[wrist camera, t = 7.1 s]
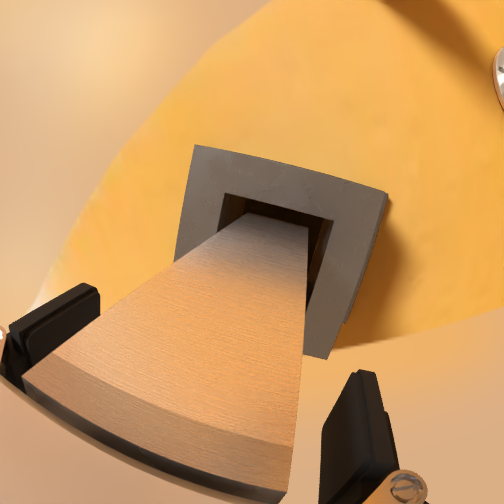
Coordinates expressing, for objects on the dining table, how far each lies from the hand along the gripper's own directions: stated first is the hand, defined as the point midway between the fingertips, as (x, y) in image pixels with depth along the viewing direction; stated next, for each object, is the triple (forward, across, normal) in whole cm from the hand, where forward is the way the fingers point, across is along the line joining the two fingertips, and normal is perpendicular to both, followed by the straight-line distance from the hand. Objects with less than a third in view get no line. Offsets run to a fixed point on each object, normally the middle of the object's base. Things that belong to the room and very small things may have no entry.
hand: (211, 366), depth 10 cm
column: (+16, 0, 0) cm, 16 cm away
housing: (+22, 0, 0) cm, 22 cm away
